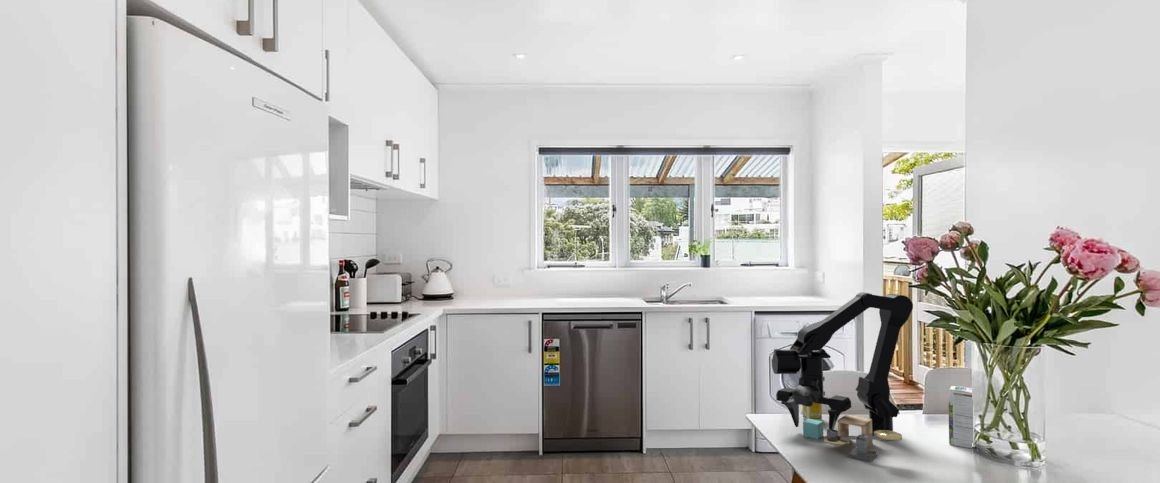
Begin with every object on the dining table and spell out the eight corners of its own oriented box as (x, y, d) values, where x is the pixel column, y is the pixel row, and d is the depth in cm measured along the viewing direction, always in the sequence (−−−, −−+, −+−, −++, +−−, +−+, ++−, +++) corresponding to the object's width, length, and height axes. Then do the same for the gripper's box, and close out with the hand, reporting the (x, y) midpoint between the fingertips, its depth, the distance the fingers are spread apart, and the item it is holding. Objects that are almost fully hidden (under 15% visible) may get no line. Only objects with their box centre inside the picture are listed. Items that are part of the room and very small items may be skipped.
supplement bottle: (799, 419, 170) (798, 387, 170) (808, 415, 173) (807, 384, 173) (816, 423, 165) (815, 390, 166) (825, 419, 169) (824, 387, 169)
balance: (829, 444, 146) (828, 419, 147) (906, 461, 134) (905, 433, 134) (820, 450, 142) (819, 424, 142) (899, 468, 130) (898, 439, 130)
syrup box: (951, 439, 149) (949, 385, 150) (978, 443, 146) (976, 388, 146) (949, 445, 145) (947, 389, 145) (976, 449, 141) (974, 392, 141)
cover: (846, 438, 151) (846, 414, 151) (872, 444, 147) (871, 419, 147) (838, 444, 147) (837, 420, 147) (864, 450, 142) (863, 424, 142)
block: (809, 432, 157) (808, 418, 157) (823, 435, 154) (823, 421, 154) (803, 436, 154) (802, 421, 154) (817, 439, 151) (817, 424, 151)
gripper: (766, 374, 155) (768, 430, 155) (836, 383, 142) (838, 445, 142) (783, 367, 163) (785, 421, 163) (851, 376, 150) (852, 434, 150)
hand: (813, 430), depth 154 cm, fingers open, 9 cm apart
